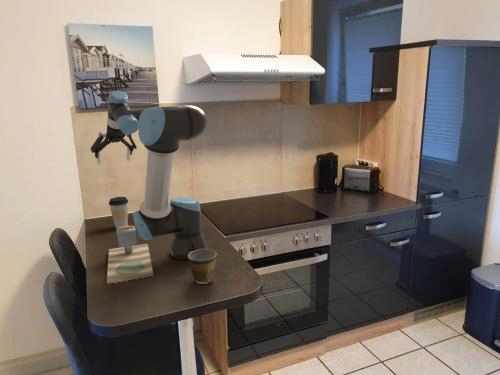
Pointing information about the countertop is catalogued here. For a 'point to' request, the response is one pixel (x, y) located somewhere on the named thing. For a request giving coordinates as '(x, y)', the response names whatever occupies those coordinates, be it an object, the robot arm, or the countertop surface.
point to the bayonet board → (129, 263)
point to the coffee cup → (119, 211)
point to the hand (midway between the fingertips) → (113, 161)
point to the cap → (126, 236)
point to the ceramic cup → (202, 264)
